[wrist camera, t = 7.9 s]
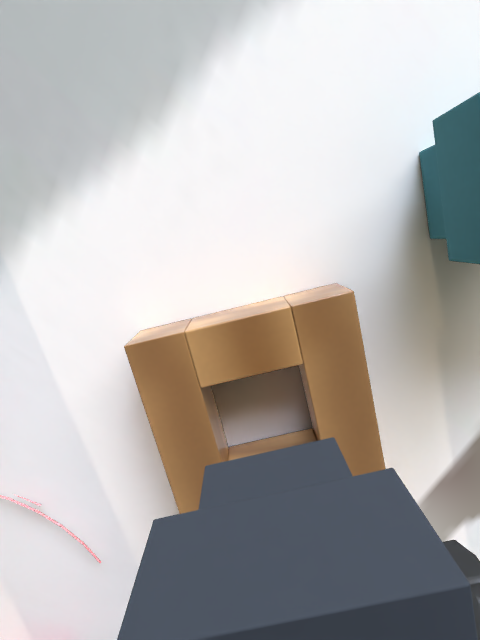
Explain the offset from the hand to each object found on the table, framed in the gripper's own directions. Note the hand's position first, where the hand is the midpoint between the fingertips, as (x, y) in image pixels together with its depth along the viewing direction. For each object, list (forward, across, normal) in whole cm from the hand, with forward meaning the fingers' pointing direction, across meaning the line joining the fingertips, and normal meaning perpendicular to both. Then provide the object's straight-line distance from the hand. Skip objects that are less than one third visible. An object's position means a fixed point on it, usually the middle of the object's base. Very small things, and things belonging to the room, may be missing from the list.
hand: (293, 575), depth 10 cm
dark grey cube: (+3, 0, 0) cm, 3 cm away
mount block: (+12, 0, +4) cm, 12 cm away
